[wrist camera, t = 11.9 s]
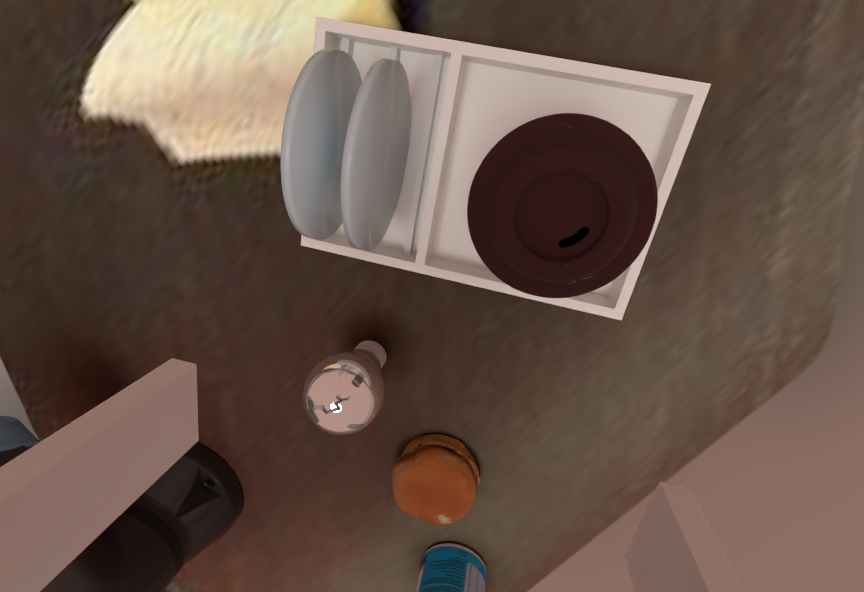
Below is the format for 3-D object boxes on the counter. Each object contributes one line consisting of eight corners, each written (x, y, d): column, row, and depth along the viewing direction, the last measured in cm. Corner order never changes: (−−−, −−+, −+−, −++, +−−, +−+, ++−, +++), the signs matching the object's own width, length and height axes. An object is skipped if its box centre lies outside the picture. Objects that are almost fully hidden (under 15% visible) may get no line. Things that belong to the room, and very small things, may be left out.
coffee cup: (484, 124, 35) (462, 115, 21) (614, 119, 33) (684, 105, 19) (483, 245, 38) (463, 305, 24) (601, 246, 36) (653, 312, 22)
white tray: (320, 235, 42) (300, 245, 38) (337, 29, 35) (316, 16, 32) (611, 303, 39) (621, 320, 35) (689, 90, 32) (711, 83, 29)
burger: (440, 417, 47) (432, 446, 42) (497, 474, 48) (495, 507, 43) (380, 460, 50) (367, 490, 46) (435, 511, 51) (427, 546, 47)
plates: (349, 221, 40) (276, 257, 28) (366, 65, 35) (286, 26, 23) (396, 232, 39) (342, 272, 27) (419, 74, 34) (366, 40, 22)
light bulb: (337, 319, 45) (277, 379, 34) (401, 316, 43) (361, 378, 32) (349, 378, 47) (297, 452, 36) (411, 377, 45) (376, 454, 34)
